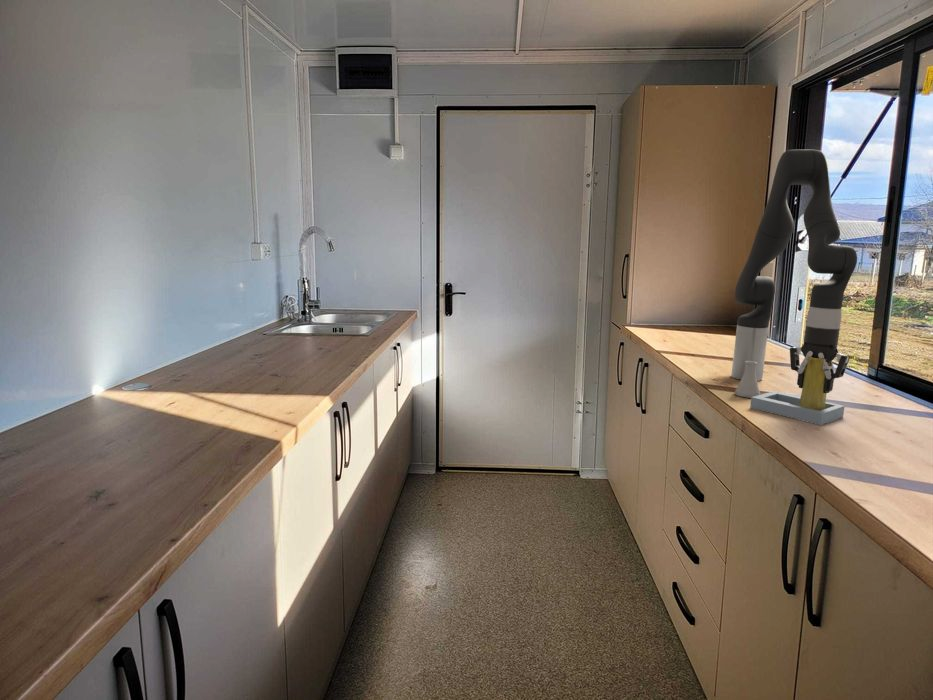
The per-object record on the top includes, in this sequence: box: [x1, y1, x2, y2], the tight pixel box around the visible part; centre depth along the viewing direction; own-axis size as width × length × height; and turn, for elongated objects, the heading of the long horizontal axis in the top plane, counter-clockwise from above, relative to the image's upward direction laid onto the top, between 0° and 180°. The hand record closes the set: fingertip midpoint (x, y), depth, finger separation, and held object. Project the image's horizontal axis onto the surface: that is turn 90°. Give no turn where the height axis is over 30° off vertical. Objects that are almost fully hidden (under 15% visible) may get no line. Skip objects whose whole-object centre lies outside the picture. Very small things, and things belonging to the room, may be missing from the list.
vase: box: [799, 357, 830, 411], centre depth 159 cm, size 6×6×14 cm
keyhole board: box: [750, 390, 845, 426], centre depth 163 cm, size 13×18×3 cm
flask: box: [734, 361, 761, 399], centre depth 178 cm, size 7×7×10 cm
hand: (813, 389), depth 159 cm, fingers closed on vase, 5 cm apart
